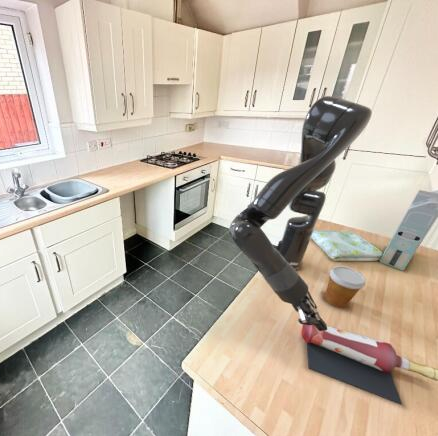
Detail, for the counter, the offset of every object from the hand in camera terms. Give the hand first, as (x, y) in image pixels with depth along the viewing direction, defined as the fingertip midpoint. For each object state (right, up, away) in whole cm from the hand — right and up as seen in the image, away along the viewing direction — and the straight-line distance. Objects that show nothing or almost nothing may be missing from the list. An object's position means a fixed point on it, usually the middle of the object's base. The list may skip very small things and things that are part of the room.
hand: (323, 328), depth 64 cm
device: (+60, +12, +40) cm, 74 cm away
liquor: (-1, -3, +7) cm, 8 cm away
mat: (+8, -10, +1) cm, 13 cm away
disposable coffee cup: (+19, 0, +21) cm, 28 cm away
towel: (+42, +15, +47) cm, 65 cm away
